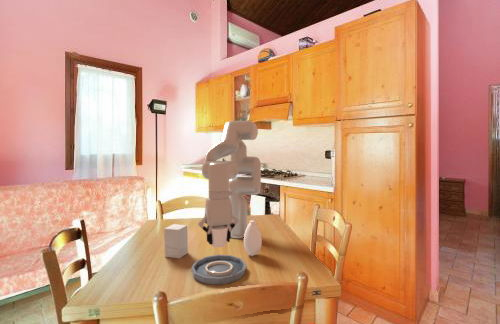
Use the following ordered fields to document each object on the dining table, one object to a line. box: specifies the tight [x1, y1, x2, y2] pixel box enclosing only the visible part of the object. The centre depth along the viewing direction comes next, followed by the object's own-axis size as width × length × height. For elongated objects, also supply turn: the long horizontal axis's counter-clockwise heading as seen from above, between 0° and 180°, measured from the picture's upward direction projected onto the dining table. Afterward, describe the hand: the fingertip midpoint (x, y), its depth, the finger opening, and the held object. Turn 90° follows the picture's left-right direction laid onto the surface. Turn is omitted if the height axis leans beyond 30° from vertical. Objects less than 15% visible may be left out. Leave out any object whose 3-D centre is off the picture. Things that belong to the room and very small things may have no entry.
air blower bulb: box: [243, 215, 263, 257], centre depth 118 cm, size 8×8×18 cm
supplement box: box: [163, 223, 189, 259], centre depth 118 cm, size 7×7×13 cm
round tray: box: [191, 254, 247, 286], centre depth 103 cm, size 20×20×2 cm
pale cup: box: [211, 225, 228, 248], centre depth 102 cm, size 7×7×7 cm
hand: (218, 241), depth 102 cm, fingers closed on pale cup, 6 cm apart
